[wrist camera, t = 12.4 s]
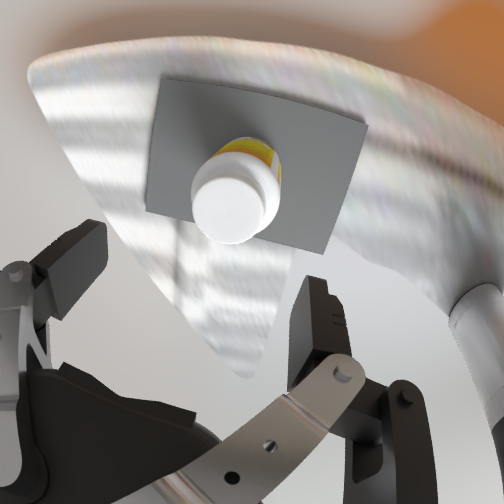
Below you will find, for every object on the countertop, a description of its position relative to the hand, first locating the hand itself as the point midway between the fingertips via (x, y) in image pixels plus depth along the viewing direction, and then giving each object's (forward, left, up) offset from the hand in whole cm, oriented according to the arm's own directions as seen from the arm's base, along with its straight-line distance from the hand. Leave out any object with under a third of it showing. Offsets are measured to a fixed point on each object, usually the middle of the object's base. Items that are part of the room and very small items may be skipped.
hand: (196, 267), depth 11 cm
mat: (0, 0, -16) cm, 16 cm away
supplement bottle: (0, 0, -16) cm, 16 cm away
